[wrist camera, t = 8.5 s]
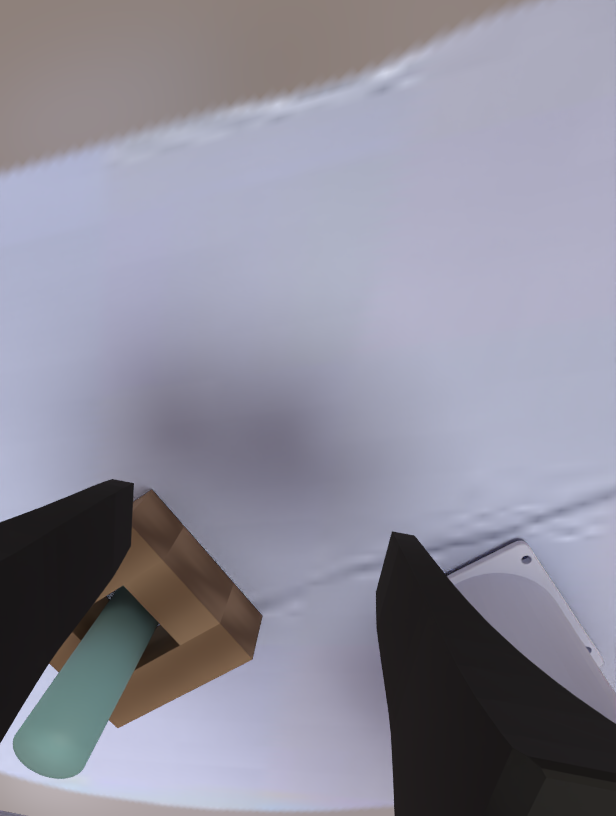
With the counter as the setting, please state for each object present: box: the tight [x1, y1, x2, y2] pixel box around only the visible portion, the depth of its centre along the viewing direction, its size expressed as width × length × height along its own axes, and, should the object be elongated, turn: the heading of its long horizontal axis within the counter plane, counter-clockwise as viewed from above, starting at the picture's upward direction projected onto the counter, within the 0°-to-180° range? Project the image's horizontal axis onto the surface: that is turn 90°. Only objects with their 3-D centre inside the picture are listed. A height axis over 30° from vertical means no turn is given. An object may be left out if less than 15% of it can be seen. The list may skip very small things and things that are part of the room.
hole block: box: [49, 490, 262, 728], centre depth 25 cm, size 10×10×3 cm
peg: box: [13, 586, 158, 779], centre depth 22 cm, size 3×3×9 cm
